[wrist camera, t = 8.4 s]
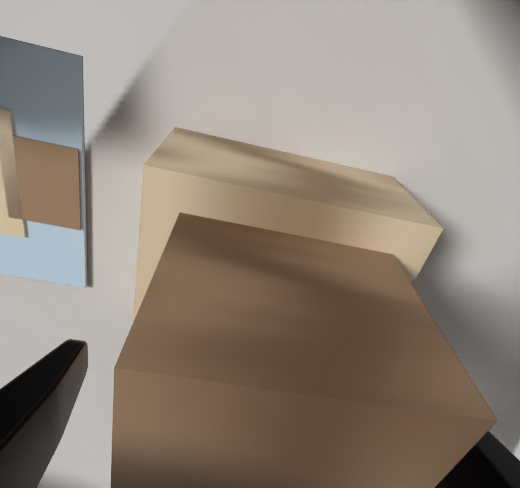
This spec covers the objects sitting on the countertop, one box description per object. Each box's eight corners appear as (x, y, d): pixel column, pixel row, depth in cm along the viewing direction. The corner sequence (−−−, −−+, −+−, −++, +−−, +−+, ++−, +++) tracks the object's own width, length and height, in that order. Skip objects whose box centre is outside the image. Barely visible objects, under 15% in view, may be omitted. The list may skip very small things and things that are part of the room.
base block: (156, 305, 16) (129, 379, 13) (175, 127, 12) (143, 165, 9) (325, 332, 17) (342, 408, 14) (393, 177, 13) (443, 228, 10)
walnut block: (160, 365, 12) (108, 546, 8) (179, 212, 9) (114, 367, 5) (325, 389, 13) (360, 565, 9) (392, 254, 10) (497, 420, 6)
